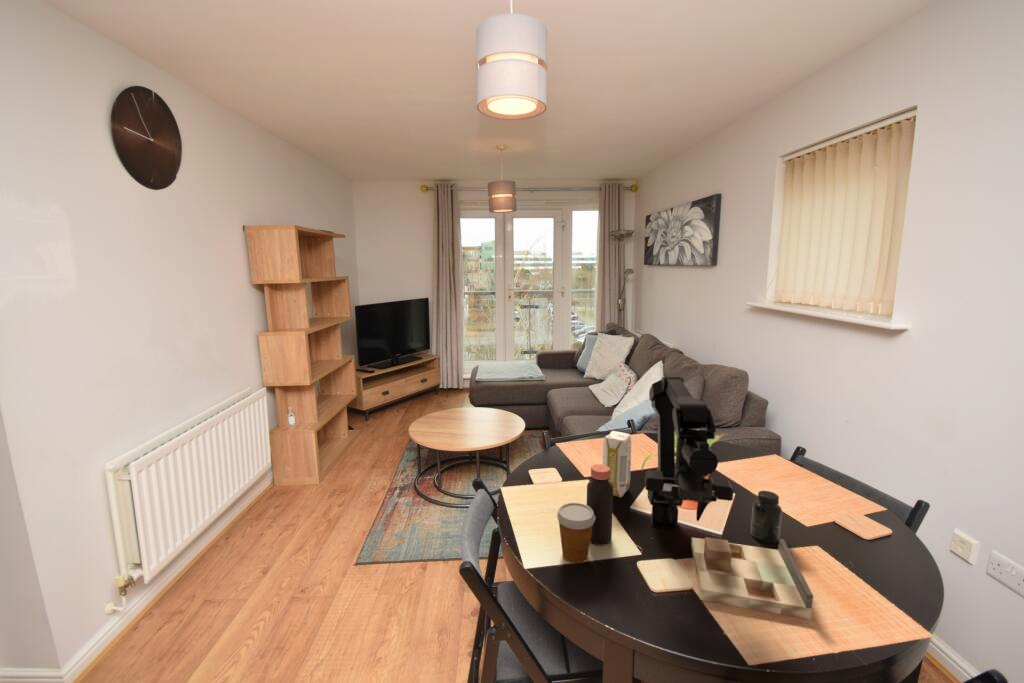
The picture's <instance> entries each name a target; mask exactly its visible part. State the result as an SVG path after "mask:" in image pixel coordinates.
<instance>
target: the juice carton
mask: <svg viewBox="0 0 1024 683" xmlns="http://www.w3.org/2000/svg"><path fill="white" fill-rule="evenodd" d="M631 436H632V435H631V434H630V433H627V432H622V431H616V430H611V432H610V433H609V434H607V435H605V436H604V439H603V445H602V446H603V449H602V465H606V466H608V467H609V468H610V479H609V482H610V483H611V484H612V486H613V497H618V498H622V497H623V496H624V495H625V493H626V492H627V491H628V490H629V488H630V483H631V466H632V465H631V464H632V463H631V461H632V438H631Z"/></svg>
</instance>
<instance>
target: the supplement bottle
mask: <svg viewBox="0 0 1024 683" xmlns="http://www.w3.org/2000/svg"><path fill="white" fill-rule="evenodd" d="M756 499H757V500H754V502H753V503H752V510H751V522H750V535H752V537H754V539H755V540H758V541H760V542H762V543H768V544H773V543H778V542H779V539H780V534H781V526H782V516H783V510H782V507H781V506H780V505H779V503H780V501H779V500H780V497H779V495H778V494H777V493H775V492H773V491H769V490H768V491H767V490H760V491H758V493H757V498H756Z"/></svg>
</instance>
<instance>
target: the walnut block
mask: <svg viewBox="0 0 1024 683" xmlns="http://www.w3.org/2000/svg"><path fill="white" fill-rule="evenodd" d="M704 539H705V545H704V560H705V564H706V569H709V570H715V571H721V572H727V573H730V568H731V556H732V552H731V549H730V546H729V543H730V542H729V540H727V539H721V538H715V537H714V538H713V537H707V536H704Z"/></svg>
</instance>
